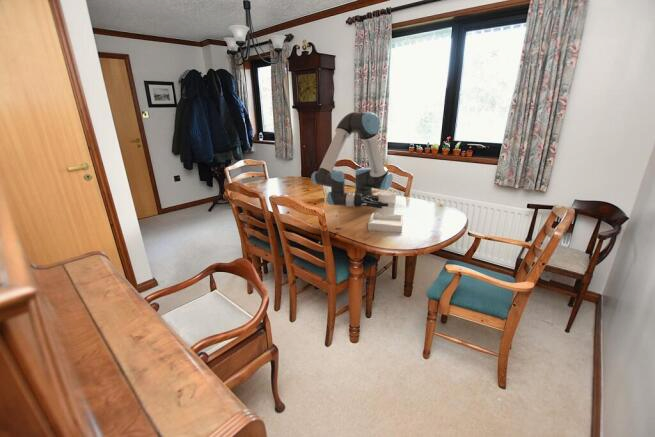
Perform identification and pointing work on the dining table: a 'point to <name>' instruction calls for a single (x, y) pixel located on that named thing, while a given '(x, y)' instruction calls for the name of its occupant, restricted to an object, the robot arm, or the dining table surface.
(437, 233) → the dining table surface
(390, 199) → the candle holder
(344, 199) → the robot arm
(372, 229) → the crate
